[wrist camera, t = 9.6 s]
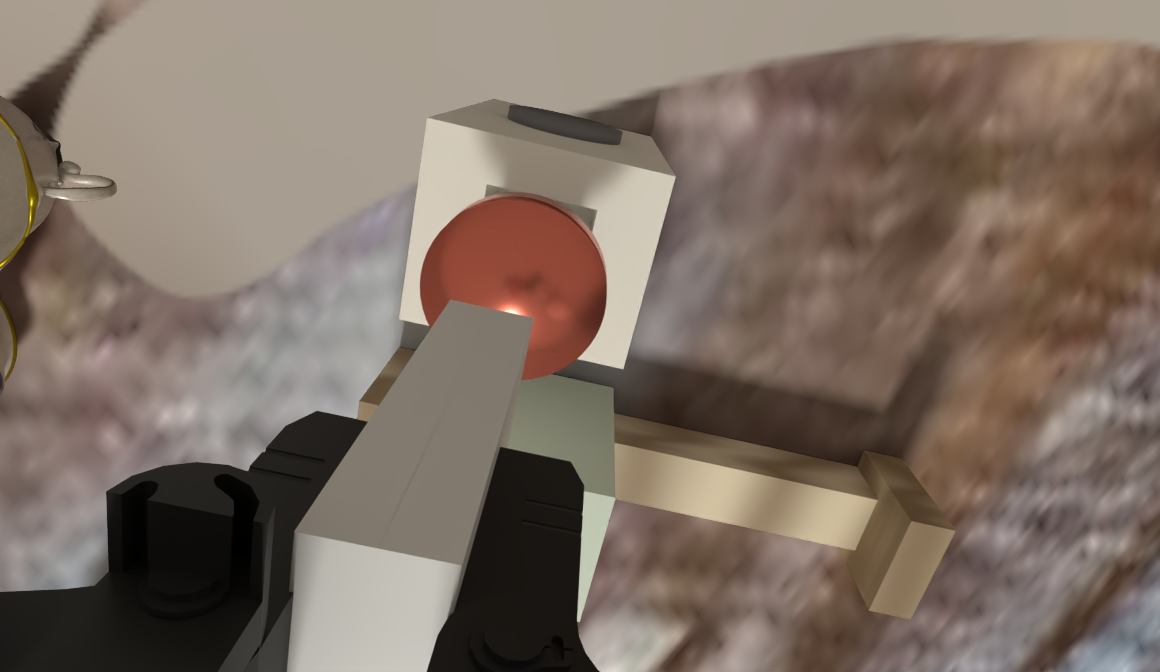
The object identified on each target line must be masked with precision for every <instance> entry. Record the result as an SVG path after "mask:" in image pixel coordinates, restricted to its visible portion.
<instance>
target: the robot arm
mask: <svg viewBox="0 0 1160 672" xmlns="http://www.w3.org/2000/svg"><path fill="white" fill-rule="evenodd" d="M533 321H534V318H532V317H528V316H523V315H518V314H514V313H509V312H505V311H500V310H496V309H491V308H486V307H482V306H477V305H473V304H468V303H464V302H459V301H454V300H450V301H449V302H448V304H447V305H446V307H445V308H444V310H443V311H442V313H441V314H440V316H439V317H438V319H437V320H436V322H435V323H434V325H433V326H432V328H431V329H430V330H429V332H428V333H427V335H426V336H425V338H424V339H423V341H422V342H421V344H420V345H419V347H418V348H417V350H416V351H415V353H414V354H413V356H412V357H411V359H410V360H409V362H408V363H407V365H406V366H405V368H404V369H403V371H402V372H401V374H400V375H399V377H398V378H397V379H396V381H395V382H394V384H393V385H392V387H391V388H390V390H389V391H388V393H387V394H386V396H385V397H384V399H383V400H382V402H381V403H380V405H379V406H378V408H377V409H376V411H375V412H374V414H373V415H372V417H371V418H370V420H369V421H368V422H367V421H363V420H358V419H353V418H348V417H344V416H339V415H334V414H329V413H325V412H320V411H316V412H314V413H312V414H310V415H308V416H306V417H304V418H301V419H299V420H297V421H295V422H293V423H291V424H289V425H287V426H285V427H284V429H283V430H282V431H281V432H280V433H279V434H278V435H277V436H276V437H275V439H274V440H273V441H272V442H271V443H270V444H269V445H268V446H267V448H266V451H265V452H262V453H261V454H260V455H259V457H258V458H257V459H256V460H255V461H254V462H253V463H252V464H251V465H250V468H249V471H244V470H241V469H238V468H235V467H232V466H229V465H222V464H210V463H199V462H195V463H186V464H177V465H168V466H162V467H159V468H156V469H152V470H149V471H146V472H143V473H140V474H136V475H133V476H131V477H129V478H128V479H126V480H124V481H123V482H121V483H120V484H118V485H116V486H115V487H113V488H111V489H110V490H108V491H106V497H107V528H108V559H109V572H108V573H107V574H106V575H105V576H104V577H103V578H102V579H101V580H100V581H99V582H98V583H97V584H96V585H95V586H89V587H80V588H72V589H59V590H36V591H14V592H0V672H599V671H598V670H597V668H596V667H595V666H594V664H593V663H592V661H591V660H590V659H589V657H588V656H587V654H586V653H585V651H584V648H583V646H582V643H581V641H580V638H579V634H578V625H577V612H578V594H579V575H580V557H581V539H582V537H581V533H582V520H583V515H582V513H583V502H584V484H583V482H582V480H581V479H580V477H579V475H578V473H577V472H576V470H575V468H574V466H573V464H572V463H571V461H566V460H561V459H556V458H552V457H547V456H542V455H537V454H533V453H528V452H523V451H518V450H514V449H509V448H507V446H508V441H509V436H510V431H511V427H512V422H513V417H514V412H515V407H516V403H517V398H518V393H519V388H520V383H521V379H522V374H523V369H524V364H525V359H526V355H527V350H528V345H529V340H530V335H531V330H532V326H533Z"/></svg>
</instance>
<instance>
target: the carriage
mask: <svg viewBox="0 0 1160 672" xmlns="http://www.w3.org/2000/svg"><path fill="white" fill-rule="evenodd" d="M507 448H509V449H514V450H518V451H523V452H528V453H533V454H537V455H542V456H547V457H552V458H556V459H561V460H566V461H571V463H572V464H573V466H574V468H575V470H576V472H577V473H578V475H579V477H580V479H581V480H582V482H583V484H584V502H583V513H582V515H583V520H582V533H581V537H582V539H581V557H580V575H579V594H578V612H577V622H580V619H581V615H582V612H583V609H584V605H585V602H586V598H587V595H588V591H589V588H590V584H591V581H592V577H593V574H594V570H595V567H596V564H597V560H598V557H599V553H600V550H601V546H602V543H603V539H604V536H605V532H606V529H607V525H608V522H609V519H610V515H611V512H612V508H613V505H614V501H615V442H614V388H612V387H607V386H603V385H598V384H594V383H589V382H585V381H580V380H576V379H571V378H567V377H562V376H558V375H553V374H550V375H547V376H544V377H540V378H536V379H530V380H521V383H520V388H519V393H518V398H517V403H516V407H515V412H514V417H513V422H512V427H511V431H510V436H509V441H508V446H507Z"/></svg>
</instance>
